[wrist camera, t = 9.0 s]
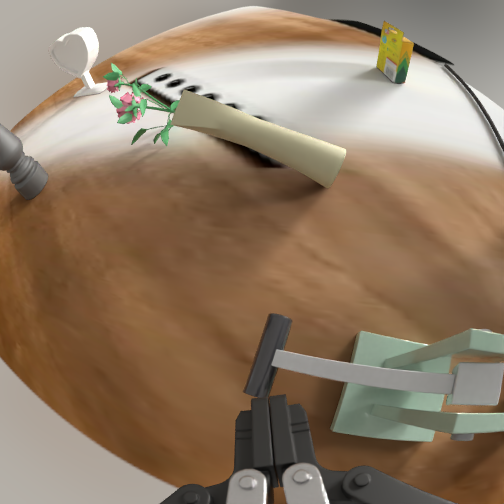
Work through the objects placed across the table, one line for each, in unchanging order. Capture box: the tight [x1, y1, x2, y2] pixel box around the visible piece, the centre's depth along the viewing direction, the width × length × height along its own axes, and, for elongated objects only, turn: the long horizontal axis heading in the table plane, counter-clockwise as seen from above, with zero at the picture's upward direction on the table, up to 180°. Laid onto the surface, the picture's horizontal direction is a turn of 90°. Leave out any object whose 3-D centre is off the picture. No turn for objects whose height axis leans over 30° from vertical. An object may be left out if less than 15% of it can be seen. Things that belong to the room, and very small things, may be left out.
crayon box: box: [377, 21, 414, 83], centre depth 38 cm, size 7×3×12 cm, turn 9°
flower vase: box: [103, 63, 346, 189], centre depth 32 cm, size 12×12×35 cm
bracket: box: [330, 328, 504, 442], centre depth 14 cm, size 10×9×14 cm
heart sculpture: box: [49, 27, 108, 97], centre depth 44 cm, size 16×5×18 cm, turn 70°
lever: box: [243, 313, 504, 406], centre depth 13 cm, size 15×6×2 cm, turn 72°
